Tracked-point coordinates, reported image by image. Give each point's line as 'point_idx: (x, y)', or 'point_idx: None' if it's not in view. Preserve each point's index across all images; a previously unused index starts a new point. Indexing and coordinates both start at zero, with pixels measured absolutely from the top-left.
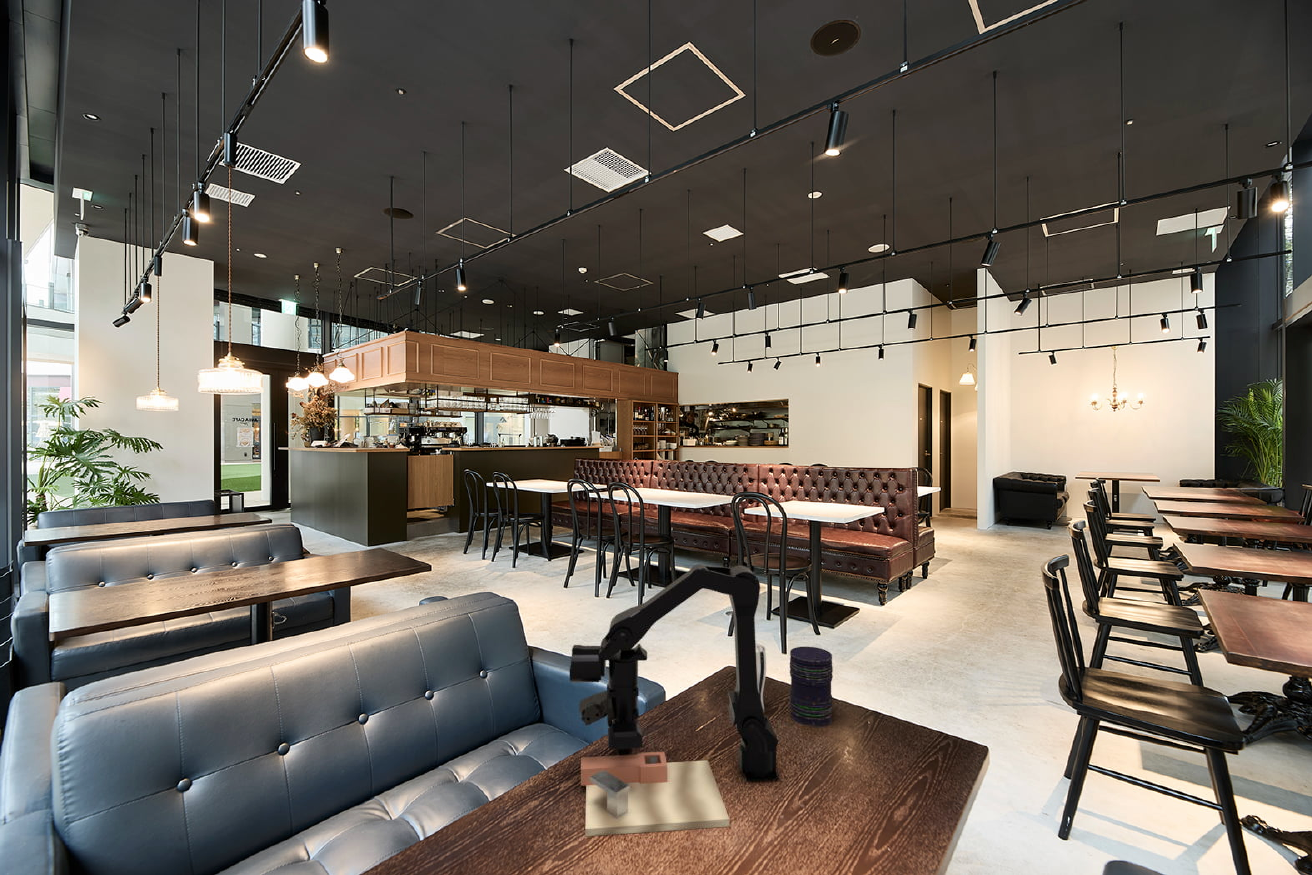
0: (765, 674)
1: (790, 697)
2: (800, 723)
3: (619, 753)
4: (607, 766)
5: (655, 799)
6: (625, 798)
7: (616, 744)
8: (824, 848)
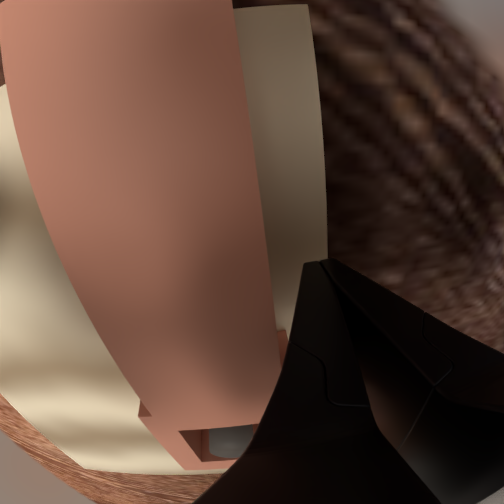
0: None
1: None
2: None
3: (295, 311)
4: (72, 236)
5: (72, 384)
6: None
7: None
8: (100, 495)
